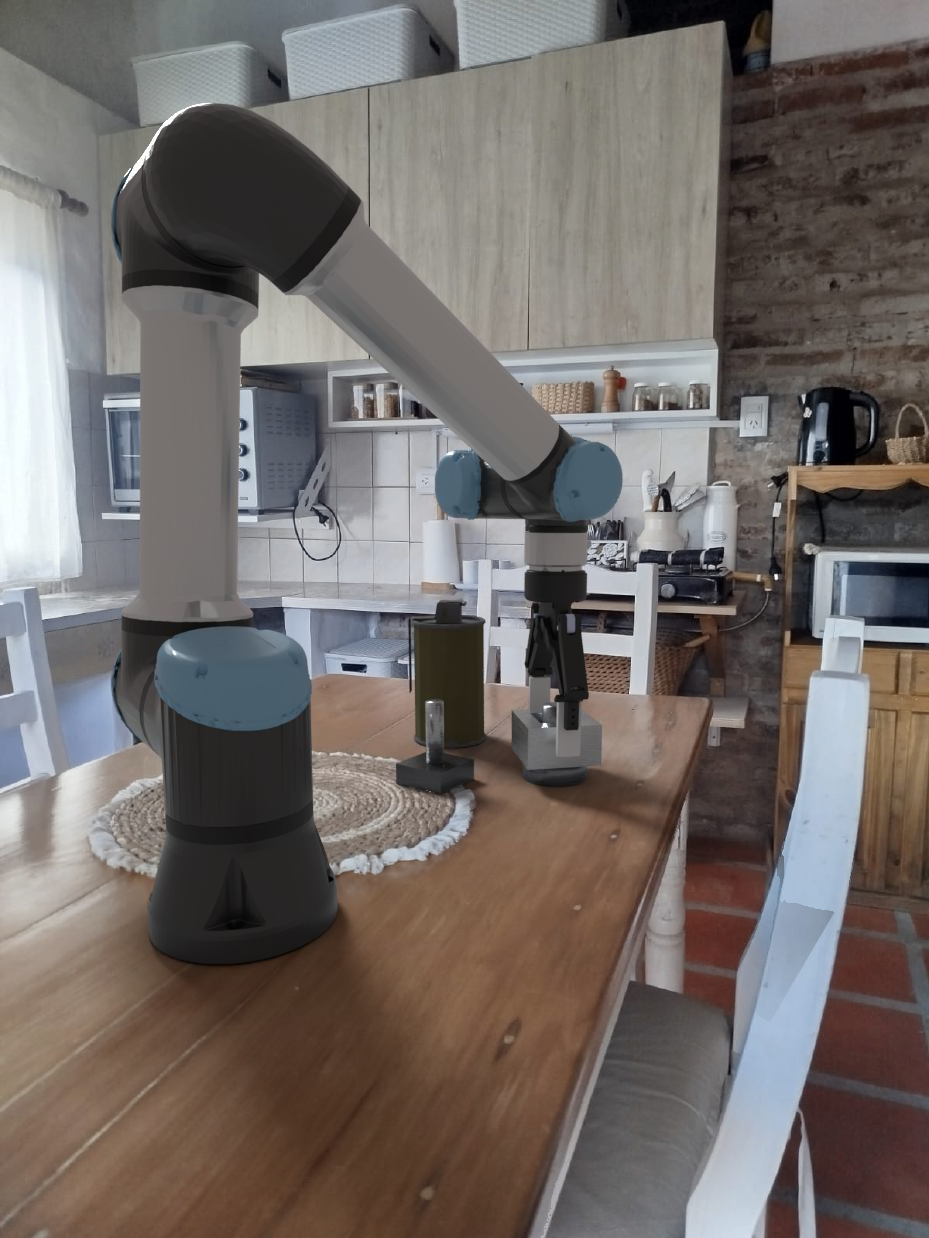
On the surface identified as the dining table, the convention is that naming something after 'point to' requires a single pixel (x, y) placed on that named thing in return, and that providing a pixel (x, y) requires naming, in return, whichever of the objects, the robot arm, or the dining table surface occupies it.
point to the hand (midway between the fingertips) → (552, 740)
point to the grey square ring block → (552, 741)
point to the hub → (554, 775)
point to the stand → (435, 759)
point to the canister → (449, 672)
